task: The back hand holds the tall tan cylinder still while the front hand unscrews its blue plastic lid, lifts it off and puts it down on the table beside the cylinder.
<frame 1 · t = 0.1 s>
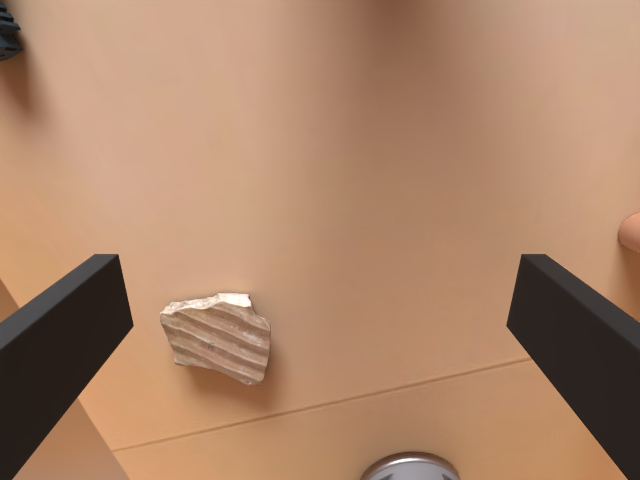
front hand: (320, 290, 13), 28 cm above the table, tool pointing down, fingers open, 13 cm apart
stone: (225, 337, 47), on the table
tall tan cylinder: (638, 230, 42), on the table
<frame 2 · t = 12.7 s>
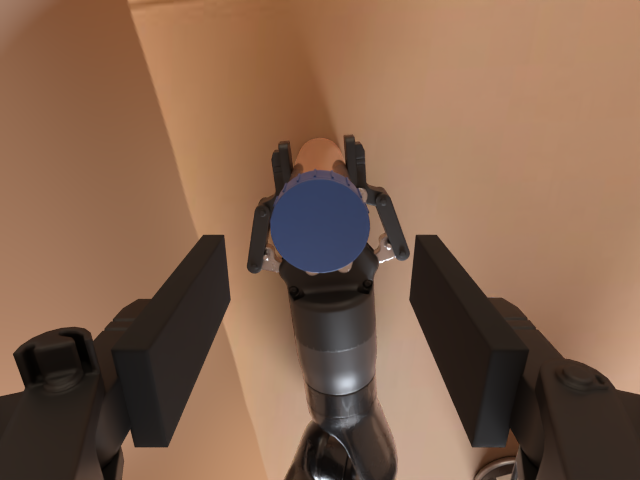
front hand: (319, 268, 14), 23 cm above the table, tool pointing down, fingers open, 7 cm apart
back hand: (316, 140, 29), fingers closed on tall tan cylinder, 4 cm apart
lid: (319, 226, 19), point 19 cm above the table, screwed on, not yet turned
tall tan cylinder: (319, 160, 36), on the table, touching back hand
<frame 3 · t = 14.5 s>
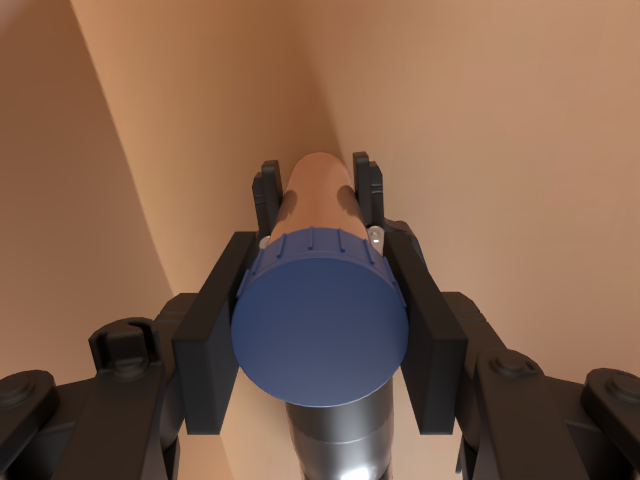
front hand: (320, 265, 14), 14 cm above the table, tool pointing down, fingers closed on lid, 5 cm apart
back hand: (314, 160, 21), fingers closed on tall tan cylinder, 4 cm apart
lid: (319, 331, 10), point 19 cm above the table, screwed on, not yet turned, touching front hand
tall tan cylinder: (319, 181, 28), on the table, touching back hand
when the front hand's fingers open (0 cm above the table, at t = 29.0 s): lid drops 2 cm, point 2 cm above the table.
when the back hand's fingers open (7 cm above the table, at t = 29.6 s): tall tan cylinder stays where it is, on the table.
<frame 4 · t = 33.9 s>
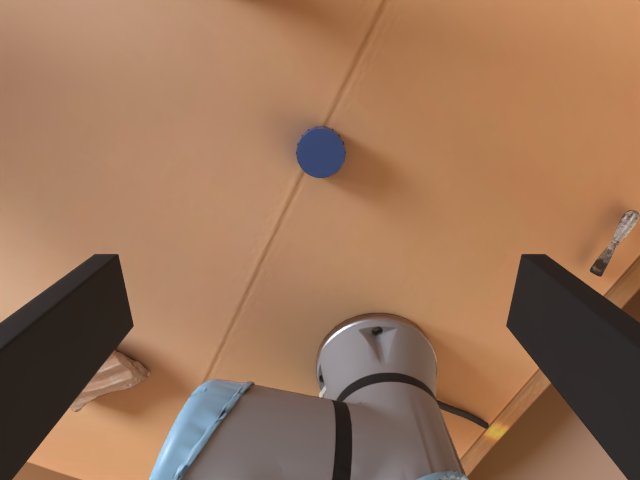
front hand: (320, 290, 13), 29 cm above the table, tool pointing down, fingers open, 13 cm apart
stone: (94, 364, 50), on the table
lid: (320, 153, 38), point 2 cm above the table, off its thread
putty knife: (608, 240, 43), on the table
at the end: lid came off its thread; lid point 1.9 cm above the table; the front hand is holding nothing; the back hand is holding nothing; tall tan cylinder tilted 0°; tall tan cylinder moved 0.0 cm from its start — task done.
